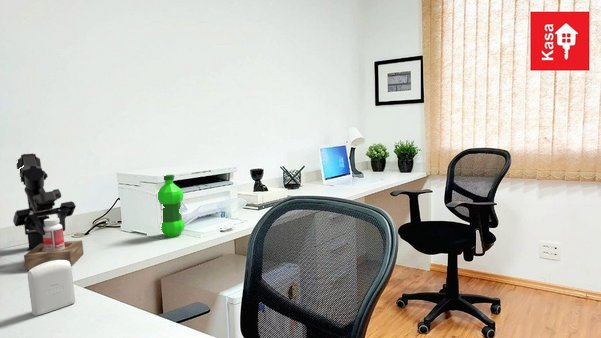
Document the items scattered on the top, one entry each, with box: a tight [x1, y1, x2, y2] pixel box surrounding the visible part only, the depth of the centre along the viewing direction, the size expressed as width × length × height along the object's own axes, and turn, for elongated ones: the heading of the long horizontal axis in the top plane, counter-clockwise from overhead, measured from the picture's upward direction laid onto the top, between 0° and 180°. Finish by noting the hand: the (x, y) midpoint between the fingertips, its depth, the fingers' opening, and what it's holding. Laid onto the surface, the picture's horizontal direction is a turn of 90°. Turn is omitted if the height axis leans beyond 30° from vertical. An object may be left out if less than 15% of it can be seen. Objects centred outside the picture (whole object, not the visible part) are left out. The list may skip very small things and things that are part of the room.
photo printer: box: [27, 260, 76, 316], centre depth 114 cm, size 10×4×12 cm, turn 140°
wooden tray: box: [23, 239, 85, 271], centre depth 153 cm, size 14×14×5 cm
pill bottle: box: [43, 217, 65, 252], centre depth 153 cm, size 6×6×11 cm
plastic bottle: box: [157, 174, 186, 238], centre depth 182 cm, size 10×10×25 cm
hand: (54, 232), depth 152 cm, fingers closed on pill bottle, 6 cm apart
